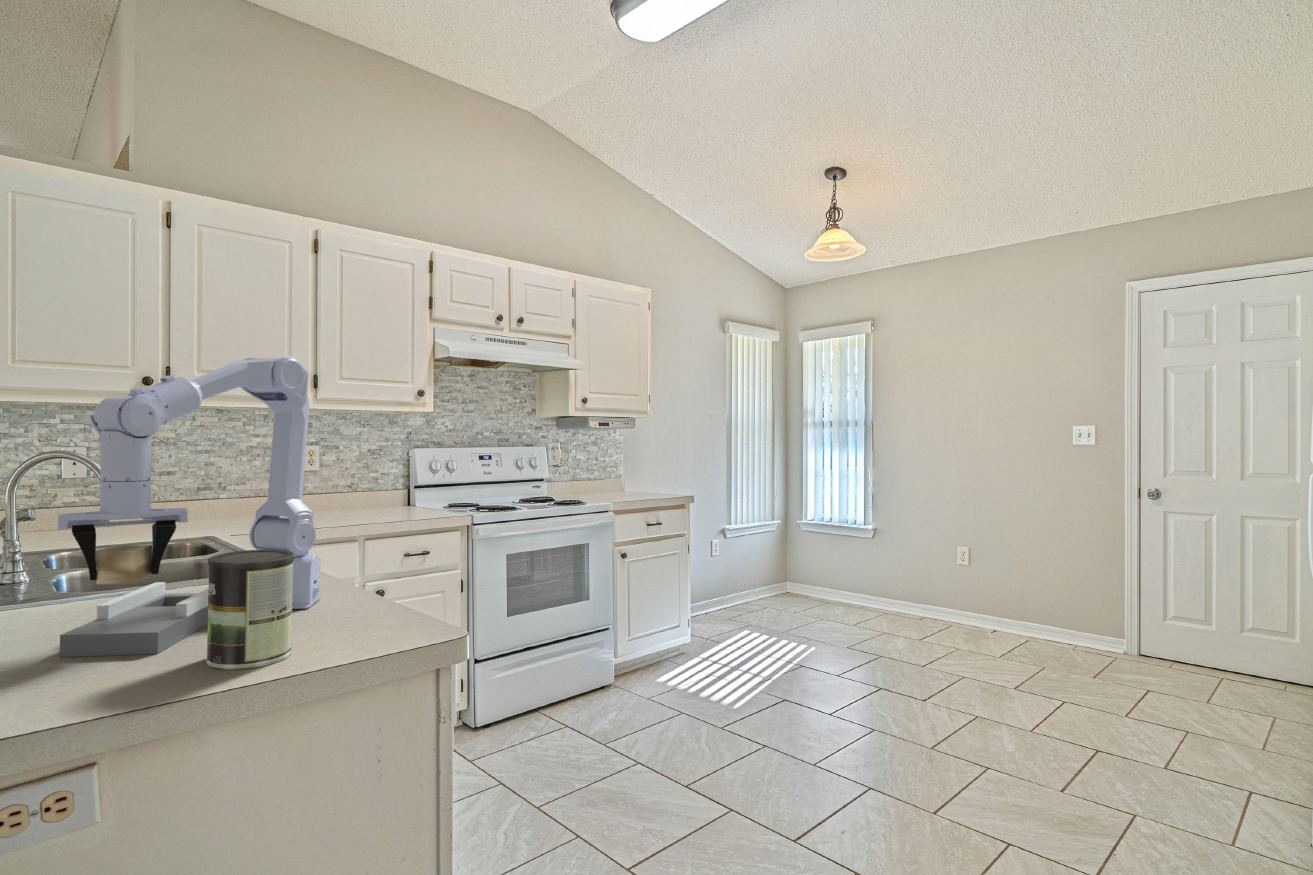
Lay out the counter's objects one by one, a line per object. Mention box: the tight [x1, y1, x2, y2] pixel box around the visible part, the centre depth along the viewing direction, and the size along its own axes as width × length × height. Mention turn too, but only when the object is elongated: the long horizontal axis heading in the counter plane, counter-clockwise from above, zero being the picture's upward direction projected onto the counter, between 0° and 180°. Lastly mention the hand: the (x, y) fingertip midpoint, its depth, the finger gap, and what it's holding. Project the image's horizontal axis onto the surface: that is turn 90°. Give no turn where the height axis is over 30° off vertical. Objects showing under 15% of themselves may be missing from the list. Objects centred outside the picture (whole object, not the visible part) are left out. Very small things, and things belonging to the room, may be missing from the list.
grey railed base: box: [59, 581, 209, 658], centre depth 107 cm, size 12×24×5 cm, turn 10°
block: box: [95, 544, 153, 585], centre depth 98 cm, size 5×5×5 cm
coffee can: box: [205, 549, 294, 671], centre depth 95 cm, size 10×10×14 cm
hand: (124, 576), depth 98 cm, fingers closed on block, 6 cm apart
